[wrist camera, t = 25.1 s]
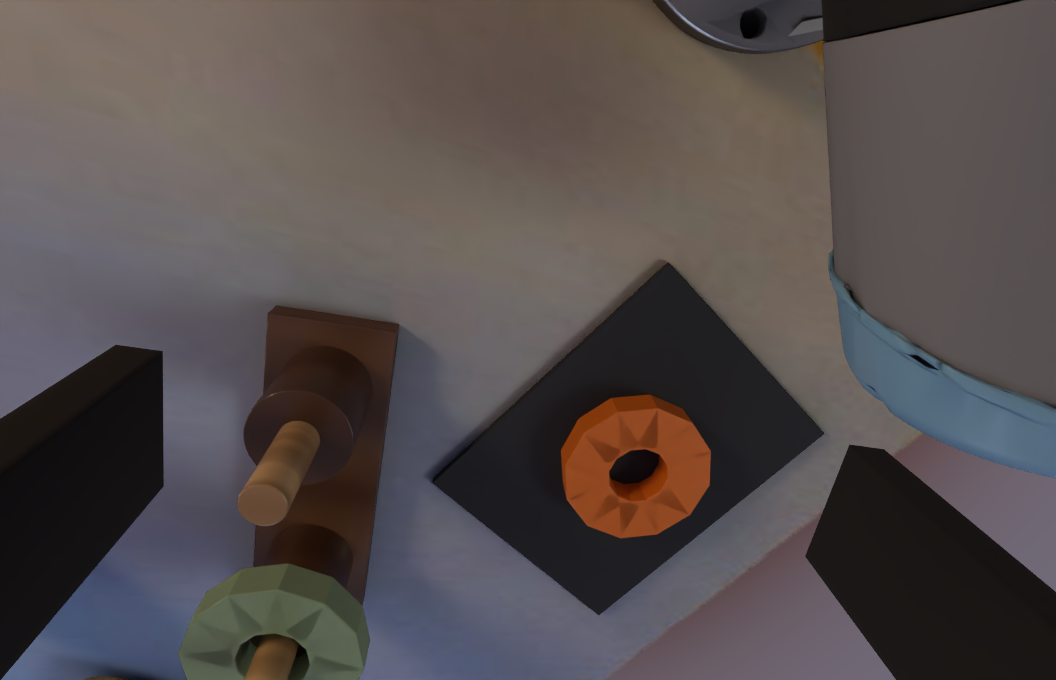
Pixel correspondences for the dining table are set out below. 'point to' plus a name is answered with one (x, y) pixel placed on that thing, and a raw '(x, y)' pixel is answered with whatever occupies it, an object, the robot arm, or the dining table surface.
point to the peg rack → (316, 454)
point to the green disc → (277, 625)
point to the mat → (629, 370)
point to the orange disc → (613, 436)
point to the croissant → (105, 678)
